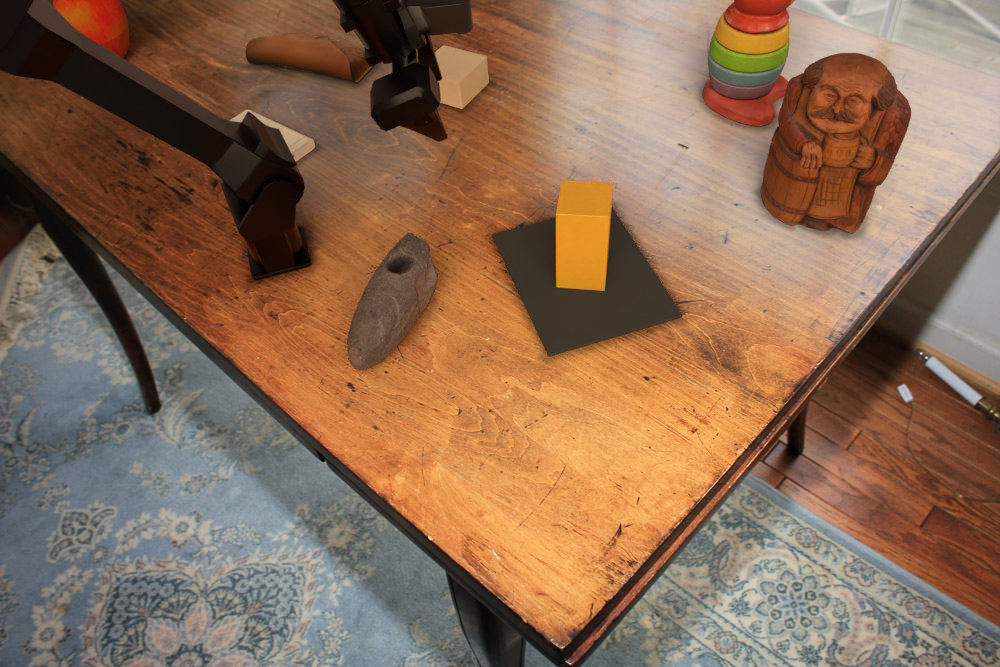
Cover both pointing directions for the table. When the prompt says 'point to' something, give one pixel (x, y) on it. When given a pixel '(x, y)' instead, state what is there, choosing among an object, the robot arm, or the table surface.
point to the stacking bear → (748, 60)
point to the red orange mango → (98, 22)
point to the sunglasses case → (309, 55)
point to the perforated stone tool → (391, 302)
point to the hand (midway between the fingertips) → (440, 108)
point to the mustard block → (583, 234)
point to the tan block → (461, 75)
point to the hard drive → (285, 135)
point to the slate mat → (579, 312)
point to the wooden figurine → (834, 142)
